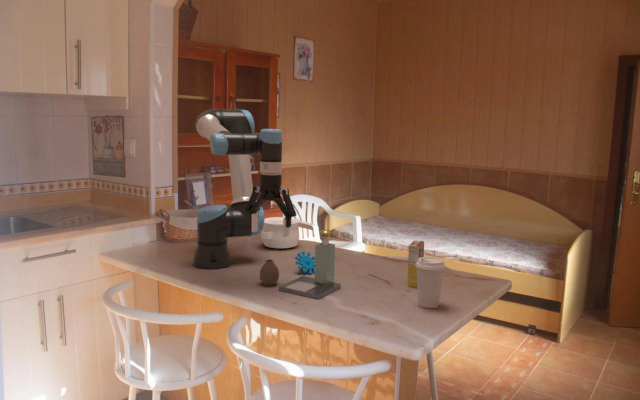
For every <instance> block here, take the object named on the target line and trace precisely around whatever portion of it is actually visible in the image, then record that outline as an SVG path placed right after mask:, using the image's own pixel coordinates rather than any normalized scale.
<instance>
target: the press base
mask: <svg viewBox="0 0 640 400" xmlns="http://www.w3.org/2000/svg"><path fill="white" fill-rule="evenodd" d="M314 250H315V252H314V257H315V259H314V261H315V267H314V269H315V273H314V277H310V276H305V275H302V276H299V277H297V278H294V279H293V280H290V281H288V282H285V283H283V284H282V285H279V286H278V291H280V292H283V291H284V293H288V294H293V295H297V296H301V295H302V296H303V297H306V296H307V298H310V297H312V298H311V299H315V298H316V299H315V300H320V299H323V298H325V297H326V296H328V295H330V294H332V293H334V292H335V291H337V290H340V289H341V286H342V285H341V284H342V283H339V282H335V258H336V254H335V253H336V243H330V242H329V245H328V246H324V245H322V242H319V243H316V244H315V249H314Z"/></svg>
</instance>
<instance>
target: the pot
mask: <svg viewBox="0 0 640 400" xmlns="http://www.w3.org/2000/svg"><path fill="white" fill-rule="evenodd" d="M283 218H285V216H273V217H265V220H264V227H263V230H262V232H261V233H260V238H261V239H262V243H263V245H264V246H265V247H267V248H271V249H278V250H279V249H290V248H294V247H296V246H298V243H299V239H300V232H299V224H300V223H301V220H300V219H299V218H297V217H296V218H295V217H292V218H291V227H289V236H287V237H283Z"/></svg>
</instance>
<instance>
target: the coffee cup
mask: <svg viewBox="0 0 640 400" xmlns="http://www.w3.org/2000/svg"><path fill="white" fill-rule="evenodd" d="M415 266H416V267H417V283H418V288H417V305H418V306H419V307H422V308H425V309H436V308H438V307H439V304H440V298H441V291H442V285H443V277H444V272H445V269H447V267H446V264H445V262H444V260H443V259H442V258H439V257H434V256H424V257H421V258H419V259H418V261H417V262H416V265H415Z"/></svg>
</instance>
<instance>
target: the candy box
mask: <svg viewBox="0 0 640 400" xmlns="http://www.w3.org/2000/svg"><path fill="white" fill-rule="evenodd" d="M407 256H408V257H407V287H410V288H417V289H418V283H417V267H416V266H415V265H416V262H417V261H418V259H419V258H421V257H425V241H424V240H415V239H414V240H413V241H412V242H411V243H410V244H409V245H408V255H407Z"/></svg>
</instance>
